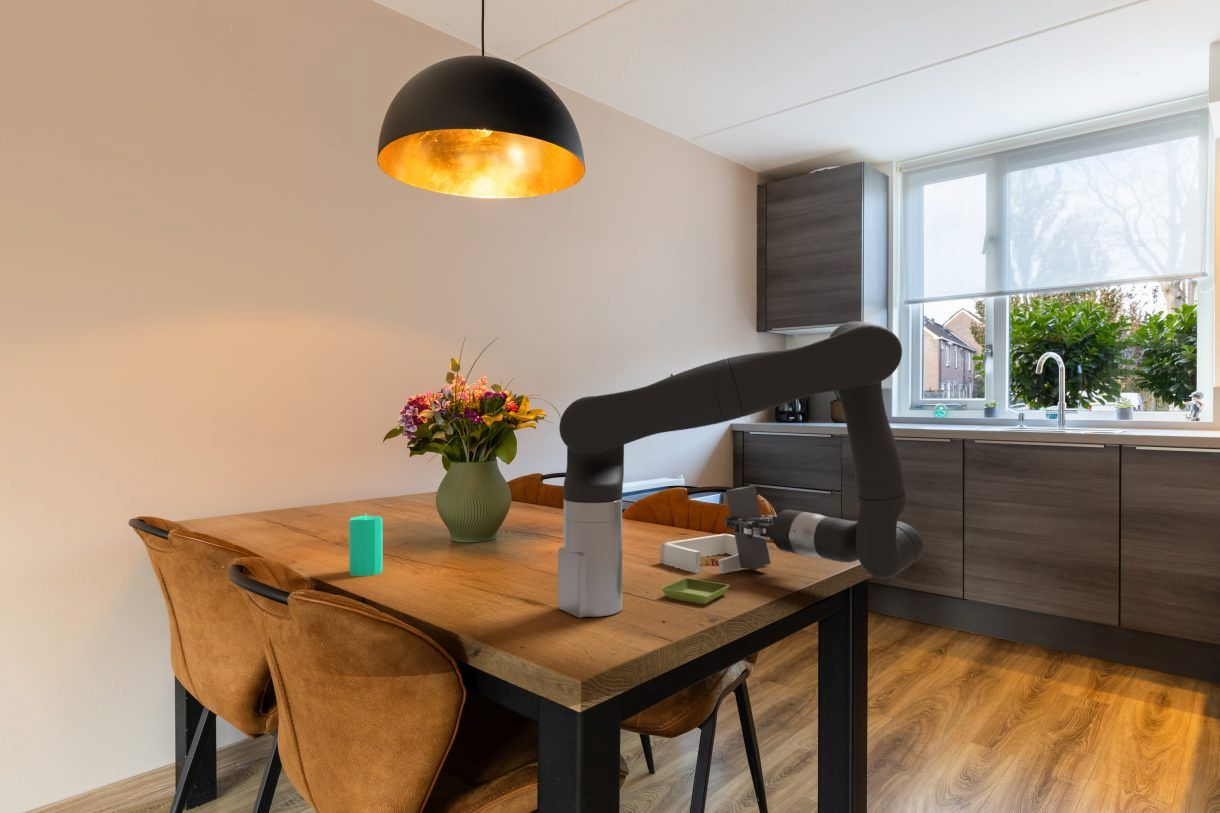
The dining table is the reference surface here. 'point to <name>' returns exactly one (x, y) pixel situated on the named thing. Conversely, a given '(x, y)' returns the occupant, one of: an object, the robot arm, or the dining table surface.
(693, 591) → the green square dish
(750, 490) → the grey upright piece
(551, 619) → the dining table surface
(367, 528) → the candle
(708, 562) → the chocolate bar
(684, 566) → the white walled enclosure
